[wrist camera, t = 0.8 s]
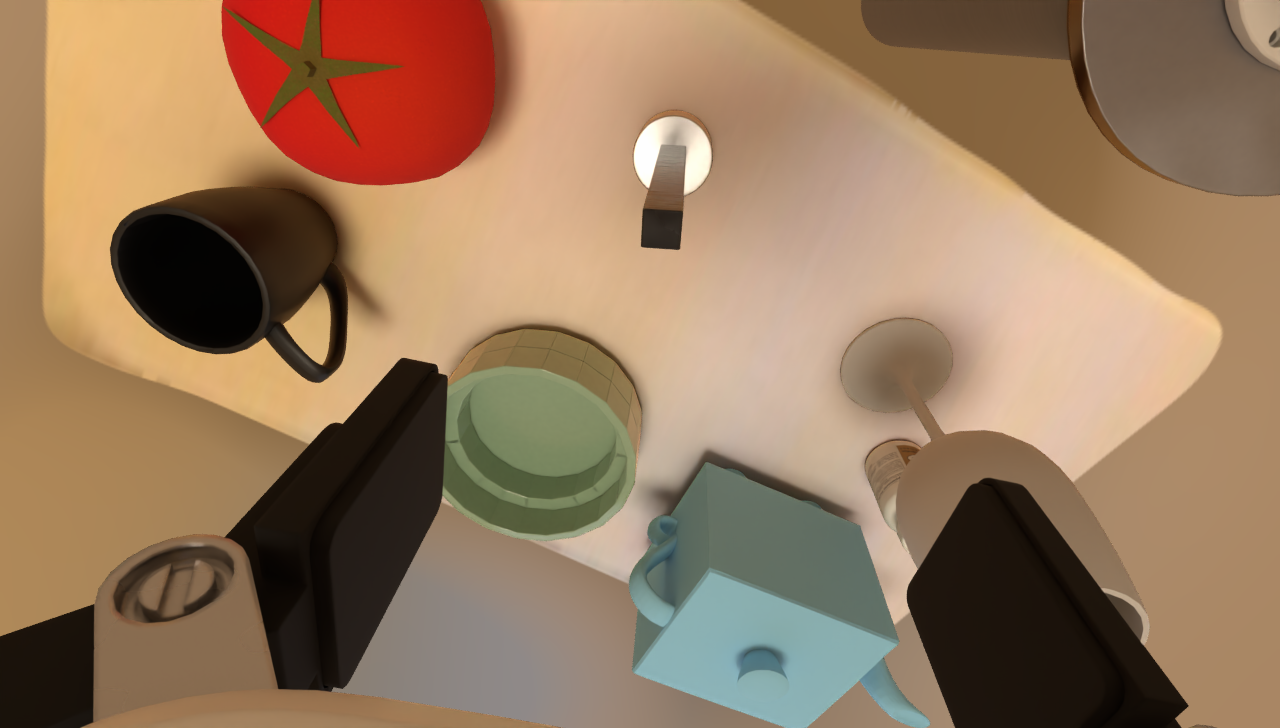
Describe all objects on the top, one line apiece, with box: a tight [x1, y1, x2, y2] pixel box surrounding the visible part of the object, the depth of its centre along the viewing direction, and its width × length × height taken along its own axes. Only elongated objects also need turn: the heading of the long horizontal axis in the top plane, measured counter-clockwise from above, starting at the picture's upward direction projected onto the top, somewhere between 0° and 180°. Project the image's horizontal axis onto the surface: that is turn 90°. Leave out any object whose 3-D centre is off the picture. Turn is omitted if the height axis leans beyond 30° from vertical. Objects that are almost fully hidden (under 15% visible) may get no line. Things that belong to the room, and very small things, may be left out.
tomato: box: [221, 0, 495, 185], centre depth 29 cm, size 11×12×10 cm
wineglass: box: [840, 318, 1150, 645], centre depth 32 cm, size 8×8×21 cm
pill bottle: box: [865, 441, 921, 554], centre depth 41 cm, size 4×4×8 cm
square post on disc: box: [633, 110, 713, 250], centre depth 28 cm, size 4×4×16 cm
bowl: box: [442, 329, 642, 541], centre depth 42 cm, size 14×14×6 cm
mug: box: [110, 187, 348, 383], centre depth 36 cm, size 8×12×10 cm
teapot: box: [629, 462, 930, 728], centre depth 43 cm, size 22×11×14 cm, turn 65°
